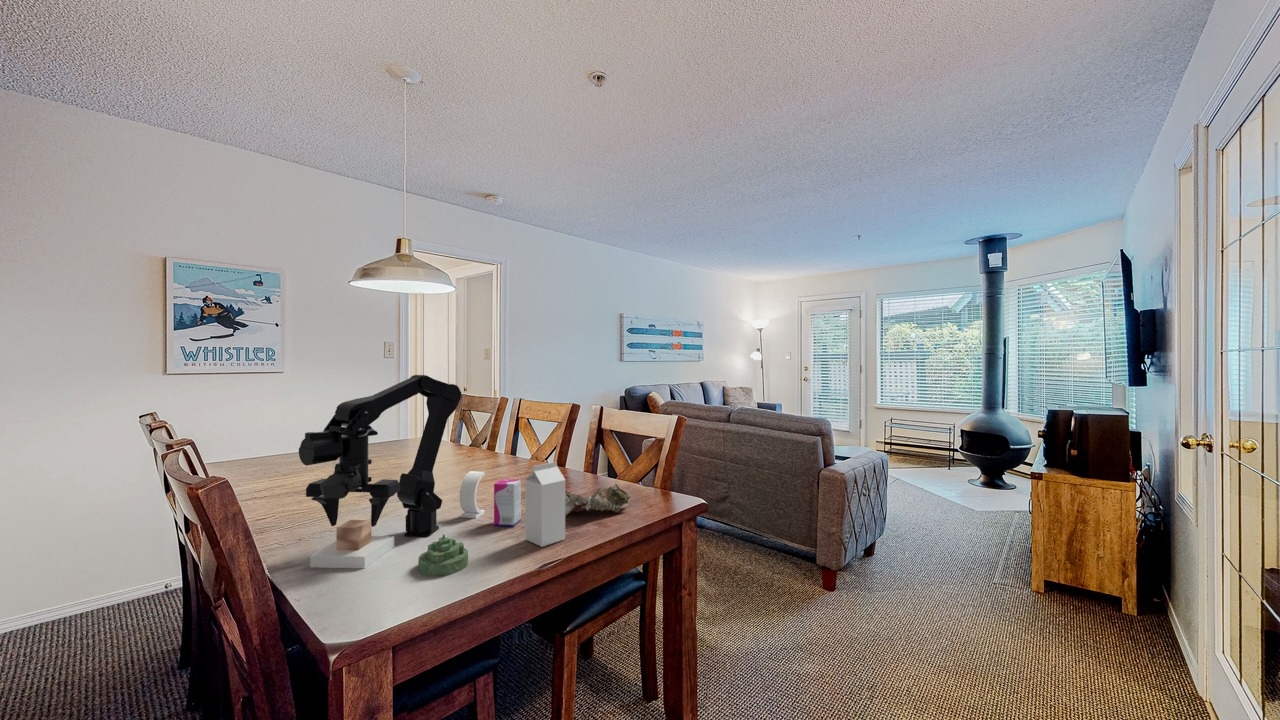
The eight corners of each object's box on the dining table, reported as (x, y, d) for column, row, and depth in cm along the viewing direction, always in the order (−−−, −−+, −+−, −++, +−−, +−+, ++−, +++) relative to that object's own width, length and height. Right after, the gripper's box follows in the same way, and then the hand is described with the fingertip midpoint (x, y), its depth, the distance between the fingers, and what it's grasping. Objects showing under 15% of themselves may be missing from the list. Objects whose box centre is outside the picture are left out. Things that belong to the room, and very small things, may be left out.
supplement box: (521, 520, 138) (521, 479, 138) (514, 527, 132) (514, 484, 132) (501, 519, 139) (501, 478, 139) (493, 526, 133) (493, 483, 133)
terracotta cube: (371, 541, 115) (371, 520, 115) (358, 550, 110) (358, 527, 110) (350, 541, 115) (350, 520, 115) (336, 549, 110) (336, 527, 110)
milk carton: (565, 539, 123) (565, 463, 123) (541, 547, 118) (542, 468, 118) (548, 532, 128) (548, 459, 128) (524, 540, 123) (525, 463, 123)
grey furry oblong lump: (604, 497, 160) (604, 473, 160) (638, 508, 149) (638, 482, 149) (539, 515, 143) (539, 488, 143) (572, 529, 132) (571, 500, 132)
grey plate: (394, 546, 118) (394, 536, 118) (364, 568, 106) (364, 556, 106) (344, 546, 119) (344, 535, 119) (310, 567, 107) (310, 555, 107)
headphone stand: (485, 512, 144) (485, 471, 144) (474, 519, 139) (474, 476, 138) (470, 511, 145) (470, 471, 145) (459, 518, 139) (459, 475, 139)
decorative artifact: (452, 554, 115) (409, 568, 107) (452, 523, 115) (409, 535, 107) (476, 565, 108) (433, 581, 101) (477, 533, 108) (433, 547, 101)
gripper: (287, 464, 104) (287, 538, 104) (374, 465, 104) (374, 539, 104) (322, 454, 116) (322, 520, 116) (401, 455, 115) (401, 522, 115)
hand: (353, 525), depth 112 cm, fingers open, 9 cm apart
